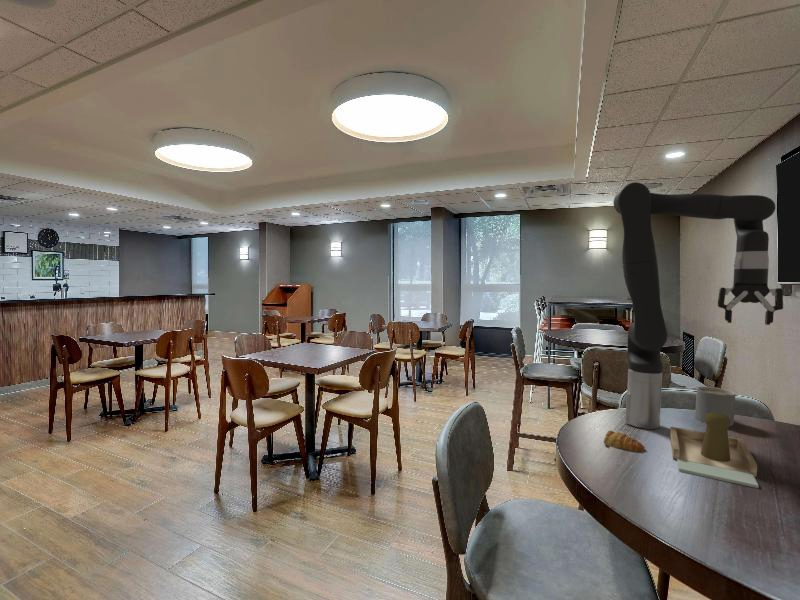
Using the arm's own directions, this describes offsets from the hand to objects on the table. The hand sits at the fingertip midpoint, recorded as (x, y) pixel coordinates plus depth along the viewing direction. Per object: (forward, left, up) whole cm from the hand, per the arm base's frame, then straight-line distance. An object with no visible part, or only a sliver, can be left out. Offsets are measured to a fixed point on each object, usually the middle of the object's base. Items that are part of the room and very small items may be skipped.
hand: (748, 323), depth 118 cm
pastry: (-30, -29, -34) cm, 53 cm away
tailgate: (-10, -33, -33) cm, 47 cm away
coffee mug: (-5, +14, -34) cm, 37 cm away
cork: (-9, -25, -32) cm, 42 cm away
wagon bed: (-10, -23, -33) cm, 42 cm away
